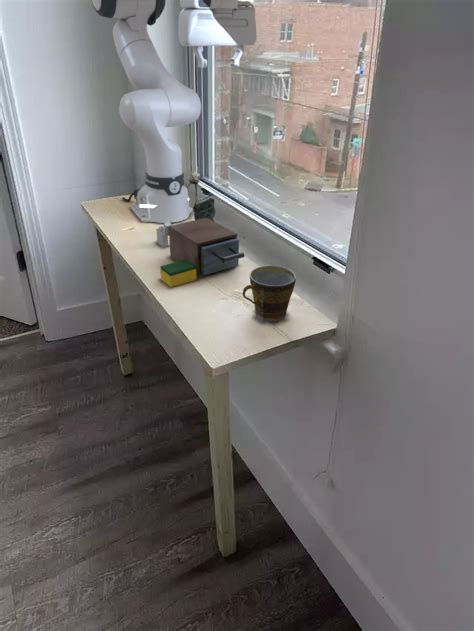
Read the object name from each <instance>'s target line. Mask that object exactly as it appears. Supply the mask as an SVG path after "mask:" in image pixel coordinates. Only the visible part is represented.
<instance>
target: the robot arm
mask: <svg viewBox="0 0 474 631" xmlns="http://www.w3.org/2000/svg"><path fill="white" fill-rule="evenodd" d="M91 3H92V4H91V5H92V7H93V9H94V11H95V12H96V13H97V15H99V16H101V17H103V18H106V19H107V18H108V19H113V18H115V19H118V20H117V21H116V22H115V24H114V25H113V28H112V37H113V41H114V46H115V49H116V52H117V55H118V57H119V60H120V63H121V64H122V67H123V69H124V72H125V75H126V76H127V78H128V81H129V82H130V84H131V85H132V86H133V87H134V88H136V90H133V91H129V92H127V93H125V94H123V95H122V97H121V99H120V102H119V108H118V109H119V110H118V111H119V116H120V119H121V121H122V122H123V123H124V125H125V126H126V127H127V128H128V129H130V130H132V132H134V133H135V134H136V136H137V137H138V138H139V139H140V142H141V144H142V145H143V149H144V154H145V159H146V160H145V161H146V171H147V172H145V173H144V174H145V175H144V177H145V180H144V182H145V184H144V185H143V186H142V187H141V188H137V189H133V192H132V193H130V195H129V197H128V198H126V197H123V196H122V198H121V200H122V201H123V200H124V201H125V202H130V201H131V200H132V198H133V199H134V200H135V203H134V204H132V205H131V206H130V209H131V210H132V212H133V213H134V214H135V215H136V217H138V219H139V220H140V222H144V223H151V222H152V223H159V224H164V223H166V222H170V223H171V224H172V223H178V222H182V221H185V220H186V219H188V218H189V217H190V214H192V213H193V207H190V197H189V192H188V188H187V187H186V186H185V172H183V151H182V149H181V147H180V145H179V144H178V143H177V142H175V141H174V140H172V139H170V138H168V137H167V135H166V131H165V130H166V129H167V128H174V127H183V126H187V125H190V124H192V123H194V122H197V121H198V120H199V118H200V115H201V112H202V102H201V98H200V96H199V95H198V93H197V92H196V91H195V90H194V89H192V88H190V87H188V86H186V85H184V84H182V82H180V81H179V80H178V79H177V78H175V77H174V76H173V74H171V73H170V72H169V71H168V69H167V68H166V67H165V65H164V64H163V62H162V60H161V58H160V56H159V54H158V52H157V50H156V47H155V45H154V43H153V41H152V39H151V37H150V35H149V32H148V26H149V27H151V26H154V25H155V24H156V22H157V20H158V19H159V18H160V17H161V15H162V13H163V12H164V10H165V6H166V0H91ZM179 6H180V8H181V9H182V10H181V11H179V14H178V23H177V24H178V25H177V35H178V36H177V37H178V42H179V43H180V45H181V46H182V47H192V52H193V53H194V55H195V58H196V60H197V67H198V69H207V67H208V59H205V58H204V56H203V53H202V52H204V47H221V46H222V47H224V46H225V47H227V46H229V47H230V46H232V47H233V51H235V52H234V55H233V57H230V67H235V68H236V67H237V68H238V67H240V59H241V58H242V55H243V53H244V51H245V50H244V48H245V46H254V45H255V44H256V42H257V23H256V22H257V21H256V7H255V6H254V4H252V3H251V1H250V0H245V1H244V0H243V1H242V0H179Z"/></svg>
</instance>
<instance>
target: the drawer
mask: <svg viewBox="0 0 474 631" xmlns="http://www.w3.org/2000/svg"><path fill="white" fill-rule="evenodd" d="M244 258H245V253H244V252H243V251H241V252H240V239H239V238H238V237H237V238H235V239H231V238H229V239H225V240H221V241H217V242H213V243H209V244H205V245H202V246H200V260H201V274H203V275H202V276H207V275H210V274H213V273H217V272H220V271H224V270H227V269H231V268H234V267H238V266H239V265H240V264H239V263H240V262H239V260H240V259H244Z"/></svg>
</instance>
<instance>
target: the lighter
mask: <svg viewBox="0 0 474 631" xmlns="http://www.w3.org/2000/svg"><path fill="white" fill-rule="evenodd" d="M171 225H172V223H170V222H166V223H163V225H162V226H161V225H160V226H158V228H156V229H155V230H156V243H157V244H158V245H159V246H161V248H168V247H169V226H171Z"/></svg>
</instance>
